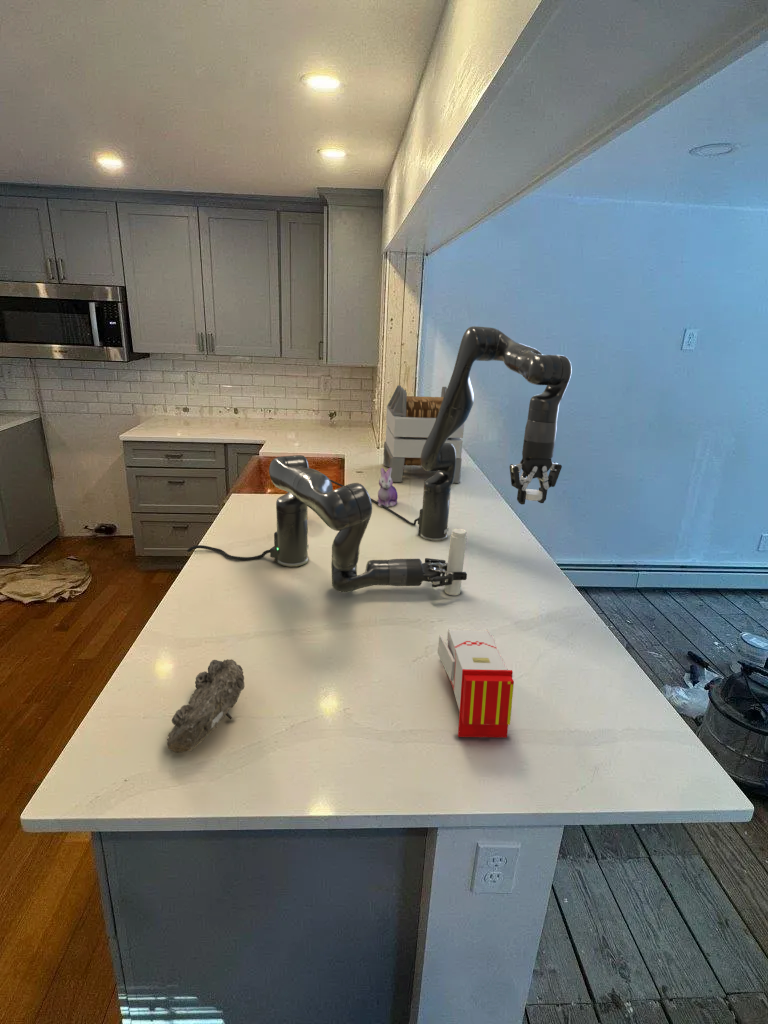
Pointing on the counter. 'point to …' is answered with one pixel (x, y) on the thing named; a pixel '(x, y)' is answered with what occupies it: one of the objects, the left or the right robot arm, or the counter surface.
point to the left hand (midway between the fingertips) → (463, 571)
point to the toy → (478, 682)
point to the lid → (533, 495)
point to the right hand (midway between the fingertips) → (530, 502)
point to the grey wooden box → (414, 431)
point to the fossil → (206, 705)
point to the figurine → (386, 489)
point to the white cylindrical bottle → (456, 559)
